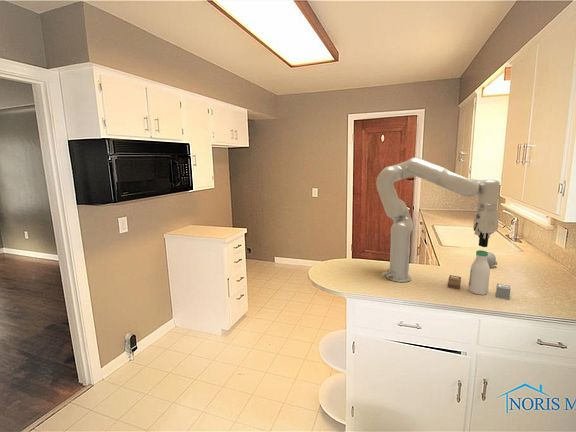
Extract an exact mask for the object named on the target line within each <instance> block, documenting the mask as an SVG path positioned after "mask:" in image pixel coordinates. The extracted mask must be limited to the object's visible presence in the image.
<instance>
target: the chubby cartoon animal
mask: <svg viewBox="0 0 576 432" xmlns="http://www.w3.org/2000/svg"><path fill="white" fill-rule="evenodd" d="M487 252H488V257H487V262H488V264H489V267H490V269H492V268H494V267H495V266H497V265H498V261H497V257H496V255H495V254H494V253H493V252H490V251H487Z"/></svg>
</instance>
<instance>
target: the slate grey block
mask: <svg viewBox="0 0 576 432" xmlns="http://www.w3.org/2000/svg"><path fill="white" fill-rule="evenodd" d="M510 297H511V285H508V284H503V283H498V282H497V283H496V289H495V298H499V299H503V300H506V301H507V300H510Z"/></svg>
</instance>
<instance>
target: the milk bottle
mask: <svg viewBox="0 0 576 432" xmlns="http://www.w3.org/2000/svg"><path fill="white" fill-rule="evenodd" d="M488 252H489V251H486V250H482V249H479V250H476V252H475V256H476V257H475V259H474V260H473V262H472V263H471V266H470V272H469V278H468V279H469V282H468V291H469V292H470V293H472V294H475V295H483V296H485V295H487V294H488V291H489V281H490V276H491V275H490V273H491V271H490V270H491V268H490V267H489V264H488V262H487V257H488Z"/></svg>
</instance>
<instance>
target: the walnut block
mask: <svg viewBox="0 0 576 432" xmlns="http://www.w3.org/2000/svg"><path fill="white" fill-rule="evenodd" d="M461 283H462V276H457V275H452V274H449V276H448V280H447V289H453V290H458V291H460V289H461Z"/></svg>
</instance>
